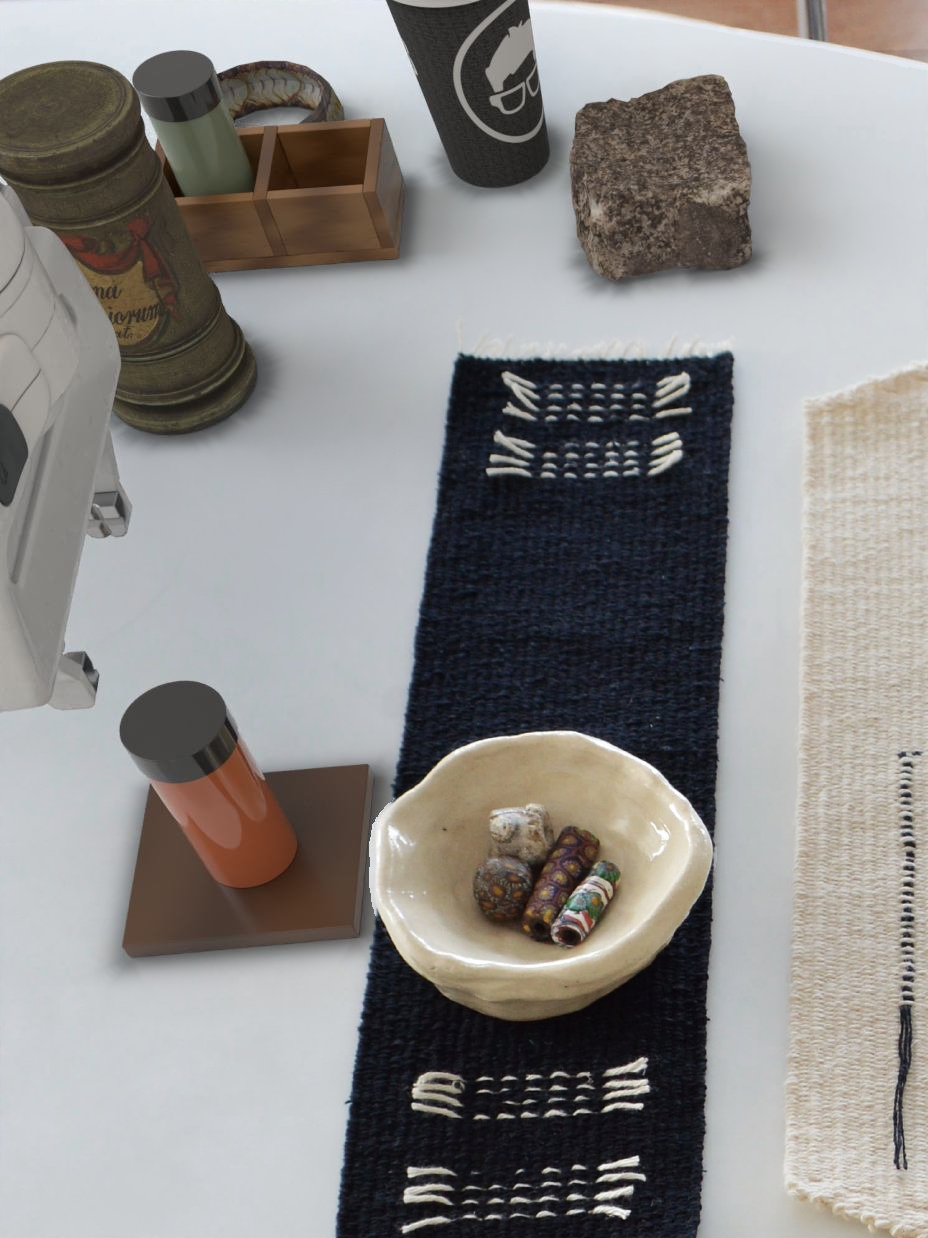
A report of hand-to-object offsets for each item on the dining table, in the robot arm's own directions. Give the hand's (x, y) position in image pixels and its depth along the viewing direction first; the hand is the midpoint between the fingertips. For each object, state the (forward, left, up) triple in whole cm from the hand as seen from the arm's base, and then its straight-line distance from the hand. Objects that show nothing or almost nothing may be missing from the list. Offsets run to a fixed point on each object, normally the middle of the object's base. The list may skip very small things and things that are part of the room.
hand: (96, 608), depth 77 cm
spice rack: (-3, +50, -18) cm, 53 cm away
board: (0, 0, -18) cm, 18 cm away
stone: (+21, +49, -18) cm, 56 cm away
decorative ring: (-5, +59, -18) cm, 62 cm away
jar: (-6, +50, -17) cm, 53 cm away
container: (-8, +36, -18) cm, 41 cm away
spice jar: (0, 0, -17) cm, 17 cm away
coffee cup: (+10, +56, -18) cm, 60 cm away
